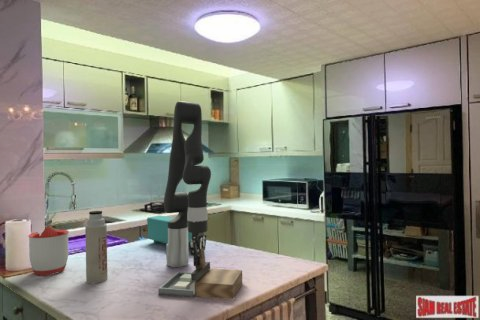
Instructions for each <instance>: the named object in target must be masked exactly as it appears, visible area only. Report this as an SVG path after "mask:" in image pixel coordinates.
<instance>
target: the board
mask: <svg viewBox="0 0 480 320" xmlns="http://www.w3.org/2000/svg"><path fill="white" fill-rule="evenodd" d="M194 283H195V296H194V297H200V298H212V299H224V298H226V300H227V299H228V300H234V298H235V296H236V295H237V293H238V291H239V290H240V288H241V286H242V285H243V270H241V269H240V270H239V269H225V268H210V269H209V270H208V271H207V272H206V273H205V274H204V275H203V276H202V277H201V278H200V279H199V280H197V281H195V282H194Z"/></svg>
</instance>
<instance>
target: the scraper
mask: <svg viewBox="0 0 480 320" xmlns="http://www.w3.org/2000/svg"><path fill="white" fill-rule="evenodd" d="M197 251H198V250H197ZM205 256H206V255H205V250H204V248H201V250H200V266H194V268H195V269H194V270H193V271H192V272H190V273H191V279H192V281H197V280H199V279H200V278H201V277H202V276H203V275H204V274H205V273H206V272H207V271H208V270H209V269H211V262H210V261H206V257H205Z"/></svg>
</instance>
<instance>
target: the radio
mask: <svg viewBox="0 0 480 320" xmlns="http://www.w3.org/2000/svg"><path fill="white" fill-rule="evenodd" d="M173 218H174V217H171V216H165V215H154V216H148V217H147V218H146V223H147V232H148V234H147V235H148V237H147V238H148V239H149V240H152V241H153V244H158V243H164V244H166V245H167V244H168V222H169V221H170V220H172V219H173ZM191 237H192V233H191V232H188V243H189V242H191ZM188 251H190V249H189V245H188Z"/></svg>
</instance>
